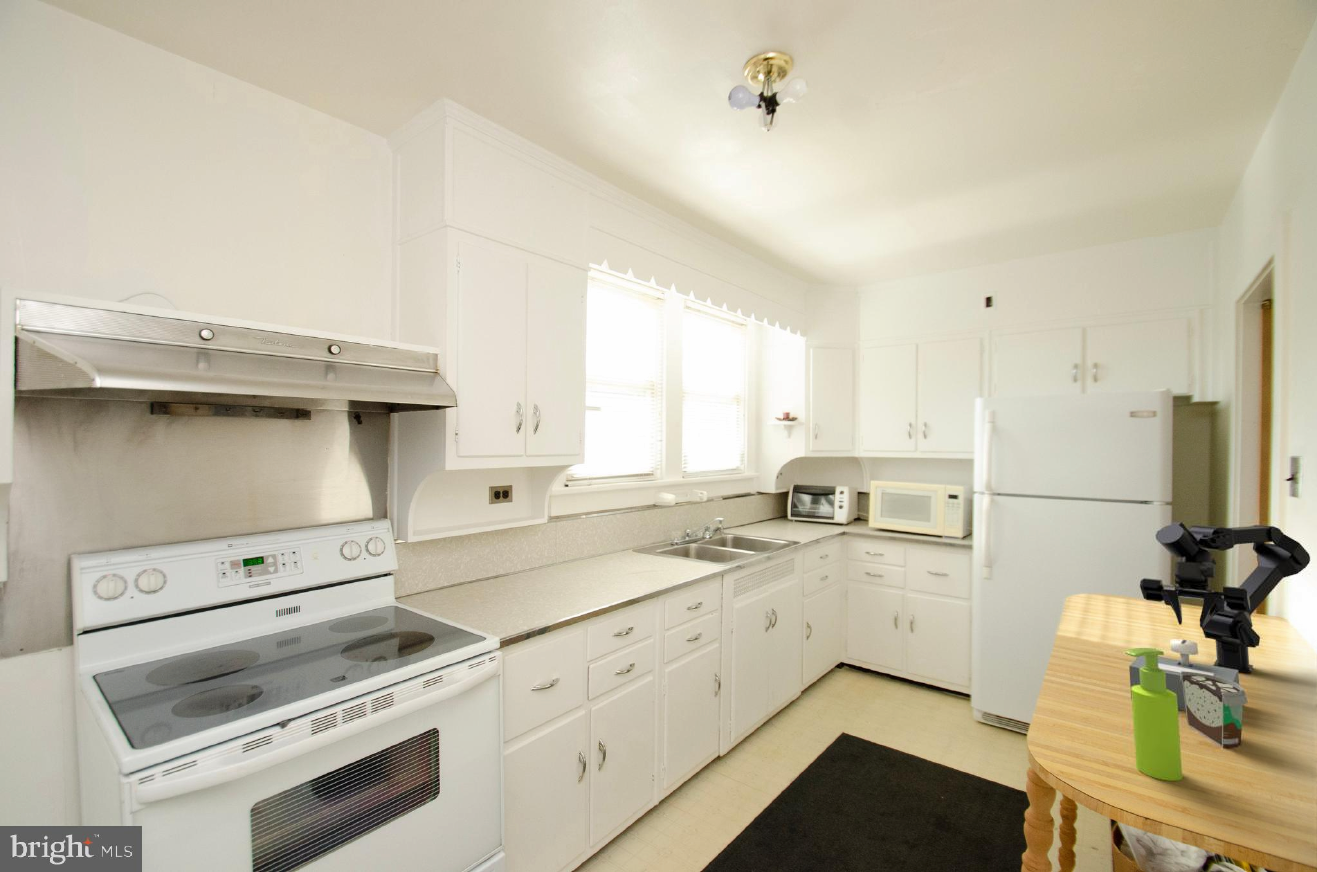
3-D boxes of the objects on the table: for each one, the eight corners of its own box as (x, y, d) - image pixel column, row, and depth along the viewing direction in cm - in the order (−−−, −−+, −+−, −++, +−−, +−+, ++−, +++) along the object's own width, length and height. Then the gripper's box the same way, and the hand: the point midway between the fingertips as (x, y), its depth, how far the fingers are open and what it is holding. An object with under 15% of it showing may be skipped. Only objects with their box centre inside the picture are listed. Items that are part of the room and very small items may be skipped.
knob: (1174, 665, 132) (1172, 637, 132) (1200, 670, 128) (1198, 641, 129) (1170, 670, 129) (1168, 641, 129) (1197, 675, 125) (1195, 645, 126)
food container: (1270, 754, 103) (1266, 695, 104) (1229, 752, 105) (1224, 694, 105) (1219, 724, 116) (1215, 671, 116) (1182, 722, 117) (1179, 670, 117)
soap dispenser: (1121, 764, 101) (1113, 645, 102) (1158, 761, 102) (1151, 643, 103) (1152, 782, 96) (1144, 655, 97) (1192, 779, 96) (1183, 653, 97)
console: (1143, 684, 136) (1141, 652, 137) (1240, 704, 124) (1238, 669, 125) (1131, 698, 128) (1129, 664, 129) (1234, 721, 116) (1231, 684, 117)
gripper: (1138, 544, 147) (1131, 597, 139) (1244, 551, 133) (1243, 611, 125) (1147, 572, 151) (1141, 625, 144) (1250, 582, 137) (1249, 641, 130)
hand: (1190, 625), depth 135 cm, fingers open, 3 cm apart
